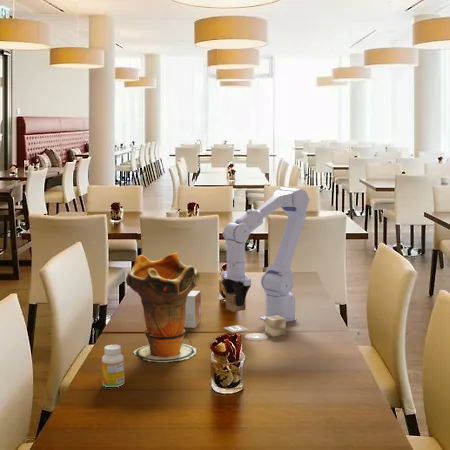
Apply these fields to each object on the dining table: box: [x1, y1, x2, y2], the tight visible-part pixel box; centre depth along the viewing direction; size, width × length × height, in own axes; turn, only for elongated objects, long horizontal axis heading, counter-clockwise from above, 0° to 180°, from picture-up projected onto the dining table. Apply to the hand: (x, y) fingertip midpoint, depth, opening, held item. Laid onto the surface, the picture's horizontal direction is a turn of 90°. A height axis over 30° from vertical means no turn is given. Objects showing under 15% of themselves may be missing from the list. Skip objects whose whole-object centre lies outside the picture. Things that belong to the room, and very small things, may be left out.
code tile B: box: [262, 331, 289, 339], centre depth 214 cm, size 6×6×1 cm
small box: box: [184, 290, 202, 329], centre depth 224 cm, size 8×6×10 cm
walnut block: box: [225, 292, 247, 313], centre depth 218 cm, size 4×4×5 cm
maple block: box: [264, 315, 287, 338], centre depth 214 cm, size 4×4×5 cm
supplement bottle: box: [101, 344, 125, 388], centre depth 172 cm, size 5×5×10 cm
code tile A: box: [223, 324, 250, 333], centre depth 220 cm, size 6×6×1 cm
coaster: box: [244, 332, 269, 342], centre depth 210 cm, size 7×7×1 cm
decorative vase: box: [125, 251, 201, 363], centre depth 195 cm, size 21×23×28 cm
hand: (236, 303), depth 218 cm, fingers closed on walnut block, 4 cm apart
